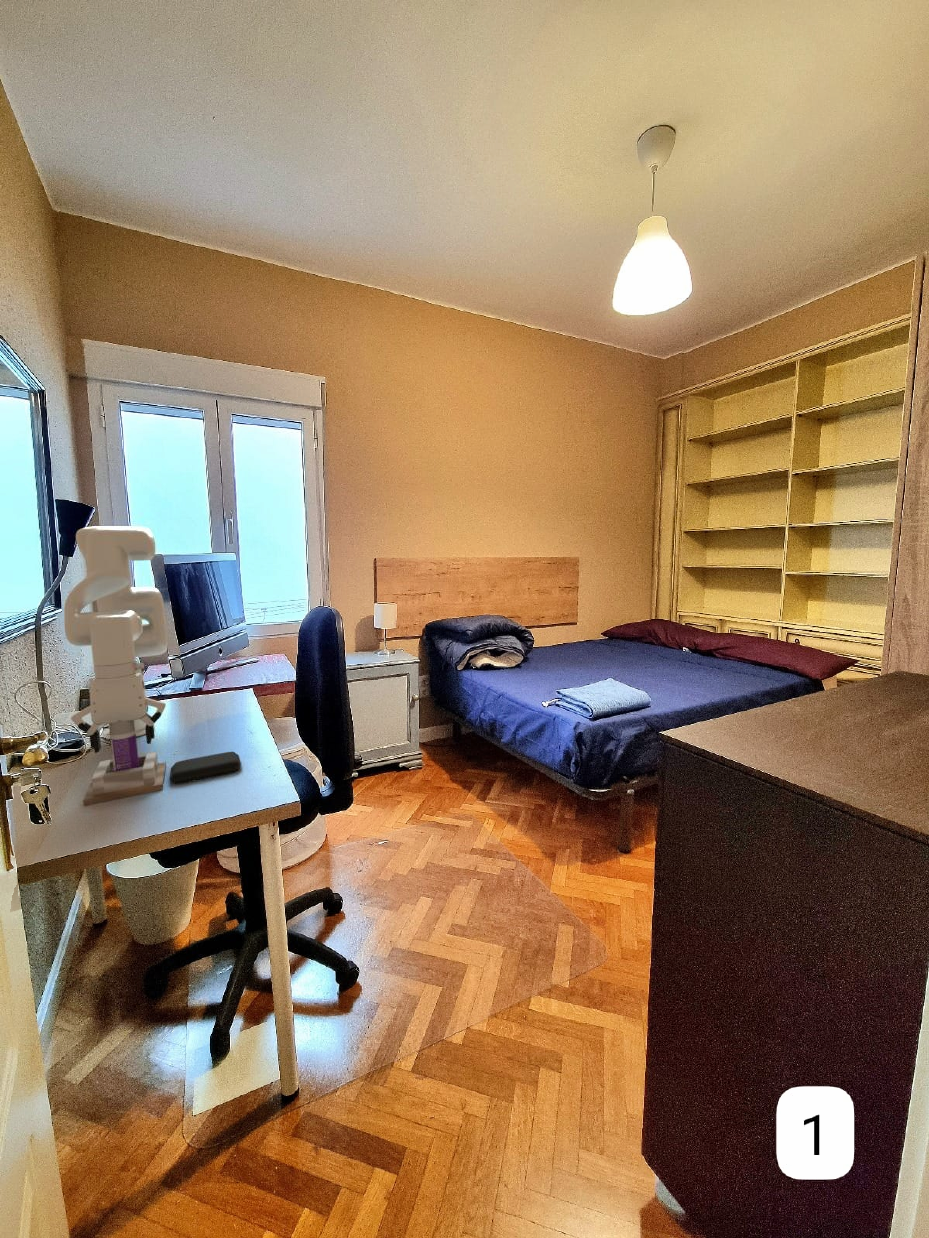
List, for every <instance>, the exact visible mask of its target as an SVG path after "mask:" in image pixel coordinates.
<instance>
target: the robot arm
mask: <svg viewBox="0 0 929 1238" xmlns="http://www.w3.org/2000/svg"><path fill="white" fill-rule="evenodd" d="M75 541H76V545H77V546H78V549H79V551H80V553H81V555H82V556H83V558H84V560H85V561H86V573H87V576H86V577H85V578H83V579H82V580H81V581H79V582H78V584H76V585H75V587H73V588H72V589H71V591H70V592H69V594H68V595H67V597H66V599H65V602H64V609H63V610H64V611H63V612H64V613H63V615H64V619H63V620H64V622H63V623H64V626H63V627H64V634H65V637H66V639H67V641H68V642H69V644H71V645H72V646H75V647H90V646H91V653H92V661H93V663H92V664H93V671H94V677H93V678H92V679H91V682H90V698H89V699H90V705H89V706H87V707H85V708H83V709H82V710H80V711H77V712H76V713H74V714H72V716H71V717H70V720H71V721H72V722H73V724H74V725H76V726H77V729H79V730H81V731H82V732H84V733H86V734H87V735H88V736H89V741H90V742H89V743H90V749H93V750H94V753H96V754H97V753H99V752H100V751H101V748H102V742H101V735H100V731H99V730H98V729H99V728H100V727H101V726H104V725H109V724H112V723H115V722H117V721H118V720H122V721H133V720H134V726H135V733H136V738H138V737H140V736H144V735H145V737H146V738H145V739H146V744H148V745H151V744H152V741H153V740H152V739H155V738H156V737H155V723H156V722H157V721H158V720H159V719H160V718H161V716H162V714H163V713H164V711H165V708H166V706H167V704H166V703H165V702H163V701H161V700H160V701H159V700H156V699H152V698H149V697H147V691H146V686H145V681H144V673H143V669H144V668H145V666H144V665H145V664H144V663H145V662H138V661H137V660H136V658H143V657H153V656H160V655H162V654H164V653H166V651H167V649H168V645H169V641H168V640H169V639H168V630H167V629H168V628H167V620H166V619H167V618H166V613H165V610H166V609H165V603H164V598H163V596H162V593H161V591H160V590H159V589H158V588H157V587H156V588H155V587H153V586H152V587H151V586H141V587H138V586H137V587H134V586H133V585H132V579H131V577H132V576H131V570H130V566H129V565H130V563H129V562H133V561H134V562H135V561H139V562H140V561H151V560H153V559H154V557H155V555H156V541H155V538H154V535H153V533H152V531H151V530H150V529H149V528H148V527H145V526H105V525H104V526H101V525H100V526H97V525H96V526H86V527H83V528H80V529H78V530H77V531H76V534H75ZM95 601H96V604H97V610H98V611H88V612H87V611H85V612H82V611H83V610H84V608H86V607H87V606H88V605H90V604H91V603H93V602H95ZM143 621H147V622H148V623H145V624H143ZM149 706H150V707H154V708H156V711H155V712H154V714H153V715H152V716H151V715H150V714H148V712H149ZM89 714H90V716H91V717H90V718H91V722H92V724H89V723H88V722H86V721H85V720H84V719H83V718H84V717H86V716H87V715H89ZM102 735H103V738H104V739H105V738H106V740H109V739H110V729H109V728H108V729H106V730H104V732H103V733H102Z"/></svg>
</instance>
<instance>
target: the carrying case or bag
mask: <svg viewBox="0 0 929 1238" xmlns="http://www.w3.org/2000/svg"><path fill="white" fill-rule="evenodd" d="M241 767H242V762H241V758H240V755H239V754H237V753H236V752H234V751H227V752H220V753H215V754H209V755H205V756H200V757H194V758H193V757H192V758H189V759H183V760H178V761H176V762H175V763H174V764H173V765H172V766H171V768H170V772H169V781H170V782H172V783H173V784H175V785H180V783H181V784H185V782H186V783H190V782H189V781H191V782H194V781H193V780H196V781H200V779H201V780H206V779H210V778H209V777H211V778H215V777H220V775H221V776H224V775H228V774H229V773H230V774H233V773H237V772H238V770H239V769H240V768H241ZM236 771H237V772H236ZM230 774H229V775H230ZM205 778H206V779H205Z"/></svg>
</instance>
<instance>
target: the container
mask: <svg viewBox="0 0 929 1238" xmlns="http://www.w3.org/2000/svg"><path fill="white" fill-rule="evenodd" d="M108 729H110V746H111V747H110V748H111V756H112V759H113V766H114V772H117V771H123V770H128V769H134V768H139V760H138V755H139V751H138V743H137V742H138V741H137V737H136V733H135V726H134V720H133V721H122V720H118V721H117V722H115V723H112V724H108Z"/></svg>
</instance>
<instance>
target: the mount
mask: <svg viewBox="0 0 929 1238" xmlns="http://www.w3.org/2000/svg"><path fill="white" fill-rule="evenodd" d="M158 759H159V758H158V751H153V752H147V753H141V754H138V760H139V768H134V769H128V770H123V771H117V772H114V766H113V758H112V759H107V760H105V759H104V760H101V761H99V763H98V766H96V767H97V768H96V769H95V771H94V773H93V775H92V778H91V783H90V786H89V787H88V789H87V791H86V793H85V796H84V797H83V800H82V801H83V806H88V804H89V805H93V804H98V803H103V801H104V802H108V801H113V800H118V799H124V798H128V797H132V796H137V795H142V794H143V795H144V794H148V793H153V792H157V790H158V791H162V790H163V789H164V785H163V784H165V776H166V772H167V762H166V761H165V762H160V763H159V761H158Z"/></svg>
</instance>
